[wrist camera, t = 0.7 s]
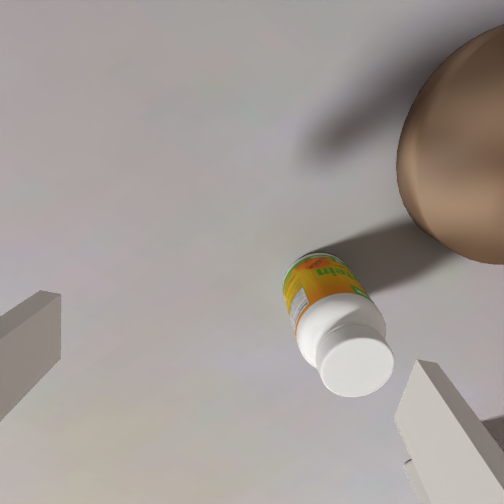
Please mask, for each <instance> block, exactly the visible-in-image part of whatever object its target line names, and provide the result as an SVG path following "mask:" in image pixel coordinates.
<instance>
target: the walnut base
mask: <svg viewBox="0 0 504 504" xmlns="http://www.w3.org/2000/svg"><path fill="white" fill-rule="evenodd" d="M396 170H397V182H398V187H399V192H400V195H401V198H402V201H403V203H404V206H405V208H406V209H407V211H408V213H409V215H410V216H411V218H412V219H413V220H414V222H415V223H416V224H417V225H418V226H419V227H420V228H421V229H422V230H423V231H424V232H425V233H427V234H428V235H430V236H431V237H433V238H434V239H436V240H438V241H439V242H441V243H442V244H444V245H445V246H447V247H448V248H450V249H451V250H453V251H455V252H456V253H458V254H459V255H462V256H464V257H466V258H468V259H471V260H474V261H478V262H481V263H488V264H502V265H504V25H501V26H498V27H496V28H493V29H491V30H488V31H486V32H484V33H483V34H481V35H479V36H477V37H475V38H473V39H472V40H470V41H469V42H467V43H466V44H465V45H463V46H462V47H460V48H459V49H458V50H456V51H455V52H454V53H453V54H452V55H451V56H450V57H448V58H447V59H446V60H445V61H444V62H443V63H442V64H441V65H440V66H439V67H438V69H437V70H436V71H435V72H434V73H433V74H432V75H431V76H430V78H429V79H428V81H427V82H426V83H425V85H424V86H423V87H422V89H421V90H420V92H419V94H418V95H417V97H416V99H415V101H414V102H413V104H412V106H411V108H410V111H409V113H408V115H407V117H406V120H405V122H404V126H403V129H402V132H401V135H400V140H399V145H398V150H397V163H396Z"/></svg>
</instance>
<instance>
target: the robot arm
mask: <svg viewBox="0 0 504 504" xmlns="http://www.w3.org/2000/svg"><path fill="white" fill-rule="evenodd" d="M60 358H61V294H58V293H52V292H47V291H41V290H40V291H39V292H37V293H36V294H34V295H32V296H31V297H29V298H28V299H26V300H25V301H23V302H22V303H20V304H19V305H17V306H16V307H14V308H13V309H11V310H10V311H8V312H7V313H5V314H4V315H2V316H1V317H0V421H1V420H2V419H3V418H4V417H5V416H6V415H7V414H8V413H9V412H10V411H11V410H12V409H13V408H14V407H15V406H16V405H17V403H18V402H19V401H20V400H21V399H22V398H23V397H24V396H25V395H26V394H27V393H28V392H29V391H30V390H31V389H32V388H33V387H34V386H35V385H36V384H37V383H38V381H39V380H40V379H41V378H42V377H43V376H44V375H45V374H46V373H47V372H48V371H49V370H50V369H51V368H52V367H53V366H54V365H55V364H56V363H57V362H58V361H59V360H60ZM394 421H395V423H396V425H397V427H398V430H399V432H400V434H401V436H402V439H403V441H404V443H405V445H406V448H407V450H408V452H409V454H410V457H411V459H412V461H413V463H414V466H415V468H416V470H417V472H418V475H419V477H420V479H421V481H422V484H423V486H424V488H425V490H426V493H427V495H428V497H429V499H430V502H431V504H504V452H503V451H502V449H501V448H500V447H499V445H498V444H497V443H496V441H495V440H494V439H493V437H492V436H491V435H490V433H489V432H488V431H487V429H486V428H485V427H484V425H483V424H482V423H481V421H480V420H479V419H478V417H477V416H476V415H475V413H474V412H473V411H472V409H471V408H470V407H469V405H468V404H467V403H466V401H465V400H464V399H463V397H462V396H461V395H460V393H459V392H458V390H457V389H456V388H455V386H454V385H453V384H452V382H451V381H450V380H449V378H448V377H447V376H446V374H445V373H444V372H443V370H442V369H441V368H440V366H439V365H438V364H437V363H434V362H428V361H423V360H417V359H416V362H415V364H414V367H413V370H412V372H411V375H410V378H409V380H408V383H407V385H406V388H405V391H404V393H403V396H402V398H401V401H400V404H399V406H398V409H397V412H396V414H395V417H394Z"/></svg>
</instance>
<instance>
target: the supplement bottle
mask: <svg viewBox="0 0 504 504" xmlns="http://www.w3.org/2000/svg"><path fill="white" fill-rule="evenodd" d="M283 294H284V299H285V302H286V306H287V309H288V313H289V316H290V319H291V323H292V326H293V330H294V333H295V336H296V340H297V344H298V346H299V349H300V351H301V353H302V355H303V357H304V358H305V359H306V360H307V362H309V363H310V364H311V365H312V366H314V367H315V368H317V369H318V371H319V373H320V376H321V379H322V381H323V383H324V384H325V386H326V387H327V388H328V389H329V390H330V391H332V392H333V393H335V394H338V395H340V396H345V397H359V396H364V395H367V394H370V393H372V392H374V391H376V390H378V389H379V388H380V387H382V386H383V385H384V384H385V383H386V382H387V381H388V379H389V378H390V376H391V374H392V372H393V369H394V363H395V361H394V355H393V352H392V350H391V349H390V347H389V345H388V344H387V342H386V341H385V336H386V325H385V321H384V318H383V316H382V314H381V313H380V311H379V310H378V308H377V307H376V305H375V304H374V302H373V301H372V300H371V299H370V297H369V296H368V295H367V293H366V292H365V290H364V289H363V288H362V286H361V285H360V284H359V282H358V281H357V279H356V278H355V277H354V275H353V274H352V272H351V271H350V270H349V268H348V267H347V266H346V264H345V263H344V262H343V261H342V260H340V259H339V258H337V257H335V256H333V255H330V254H326V253H313V254H309V255H306V256H304V257H302V258H300V259H298V260H297V261H296V262H294V263H293V264H292V265H291V266H290V268H289V269H288V271H287V272H286V274H285V277H284V280H283Z"/></svg>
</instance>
